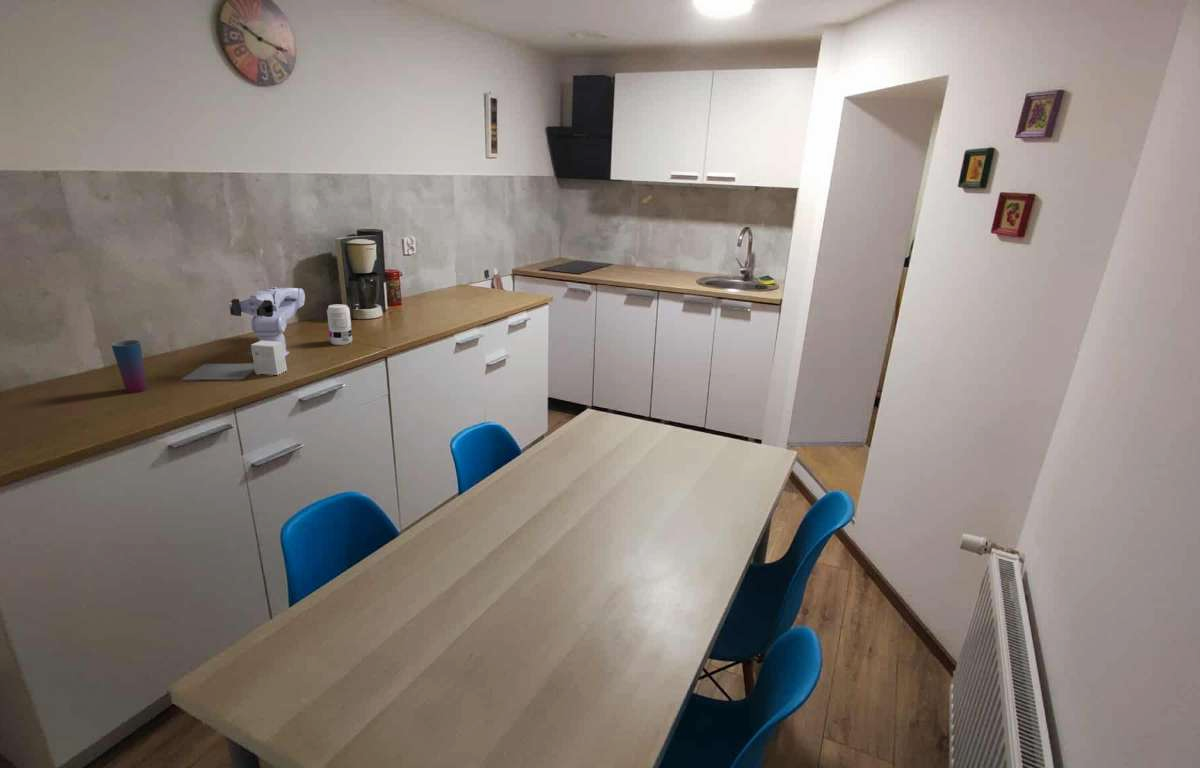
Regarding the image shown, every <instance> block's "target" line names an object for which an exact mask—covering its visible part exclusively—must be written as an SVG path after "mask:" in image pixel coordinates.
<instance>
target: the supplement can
mask: <svg viewBox="0 0 1200 768" xmlns="http://www.w3.org/2000/svg"><path fill="white" fill-rule="evenodd" d="M326 314H327V324H328V331H329V332H328V333H329V334H328V335H329V341H330V343H331V344H332V345H334V346H346V345H349V343H350V344H351V343H352V342H353V333H352V320H351V312H350V307H349V306H348V305H347V304H343V303H341V304H339V303H337V304H336V303H335V304H330V305H328V308H327V309H326Z"/></svg>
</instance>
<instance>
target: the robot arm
mask: <svg viewBox="0 0 1200 768" xmlns="http://www.w3.org/2000/svg"><path fill="white" fill-rule="evenodd" d="M305 300H306V294H305V291H304V289H303V288H298V287H277V286H271V288H268V289H267V290H265V291H264V290H257V291H256V294H250V295H249V298H246V299H243V300H240V299H239V298H232V299H231V301H230V303H228V309H229V310H230V315H231V316H235V317H242V313H244V314H247V315H249V316H252V318H251V320H250V326H251V330H252V331H253V333H255V334H256V336H258V339H259V341H275V342H283V347H284V354H285V357H287V356H288V355H289V354H290V351H287V343H286V338H285V335H284V334H283V333H284V332H285V331H286V329H287V321H289V320H290V319H292V318H293V317H294V316H295V314H296V313H297V311H298V309H301V308H302V307H303V306H304V305H305ZM259 341H258V342H259Z"/></svg>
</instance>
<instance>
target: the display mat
mask: <svg viewBox="0 0 1200 768" xmlns="http://www.w3.org/2000/svg"><path fill="white" fill-rule="evenodd" d="M254 370H255V367H254V363H204V364H202V365H201V366H199V367H197V368H196V369H195V370H192V372H190V373H189V374H187V375H186V376H184V377H183V378H182V379H181V381H182V382H200V381H199V380H243V379H244V378H245V379H246V377H247V376H248V375H249V374H250V373H251V374H253V373H254V372H255V371H254ZM253 371H254V372H253ZM252 372H253V373H252ZM251 374H250V375H251ZM250 375H249V376H250ZM249 376H248V377H249ZM248 377H247V378H248ZM245 379H244V380H245ZM244 380H243V381H244Z"/></svg>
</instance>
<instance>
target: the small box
mask: <svg viewBox="0 0 1200 768" xmlns="http://www.w3.org/2000/svg"><path fill="white" fill-rule="evenodd" d="M250 349H251V353H252V354H251V355H252V360H253V364H254V367H255V371H254V372H255V375H260V374H271V375H270V376H273V375H278V376H280V375H282V374H284V373H285V371H286V372H287V371H288V367H287V362H286V356H285V354H284V347H283V342H275V341H257V342H255V343H252V344H250ZM283 372H284V373H283ZM281 373H282V374H281ZM279 374H280V375H279Z"/></svg>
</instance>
